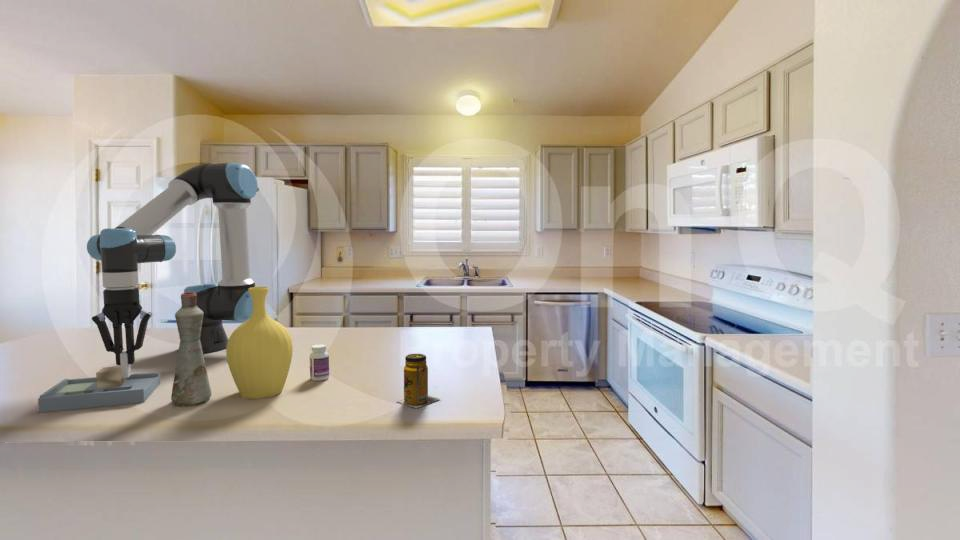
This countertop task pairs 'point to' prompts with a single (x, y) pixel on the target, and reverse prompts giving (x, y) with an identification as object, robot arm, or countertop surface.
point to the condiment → (416, 382)
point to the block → (109, 377)
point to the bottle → (190, 356)
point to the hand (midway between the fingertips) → (126, 376)
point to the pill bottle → (319, 363)
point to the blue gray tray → (97, 393)
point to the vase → (259, 352)
